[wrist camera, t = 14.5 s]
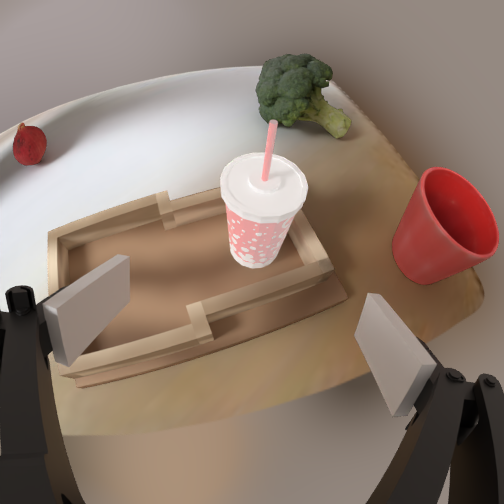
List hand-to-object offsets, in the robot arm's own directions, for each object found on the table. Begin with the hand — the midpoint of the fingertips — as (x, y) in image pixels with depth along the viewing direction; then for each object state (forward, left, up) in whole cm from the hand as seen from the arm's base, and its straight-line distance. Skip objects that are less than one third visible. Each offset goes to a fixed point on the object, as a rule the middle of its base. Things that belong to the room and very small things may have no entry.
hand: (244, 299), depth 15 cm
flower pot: (-1, +23, -11) cm, 25 cm away
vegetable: (-26, +19, -11) cm, 34 cm away
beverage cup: (-7, +4, -9) cm, 13 cm away
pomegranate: (-34, -21, -11) cm, 41 cm away
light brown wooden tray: (-8, -2, -10) cm, 13 cm away
